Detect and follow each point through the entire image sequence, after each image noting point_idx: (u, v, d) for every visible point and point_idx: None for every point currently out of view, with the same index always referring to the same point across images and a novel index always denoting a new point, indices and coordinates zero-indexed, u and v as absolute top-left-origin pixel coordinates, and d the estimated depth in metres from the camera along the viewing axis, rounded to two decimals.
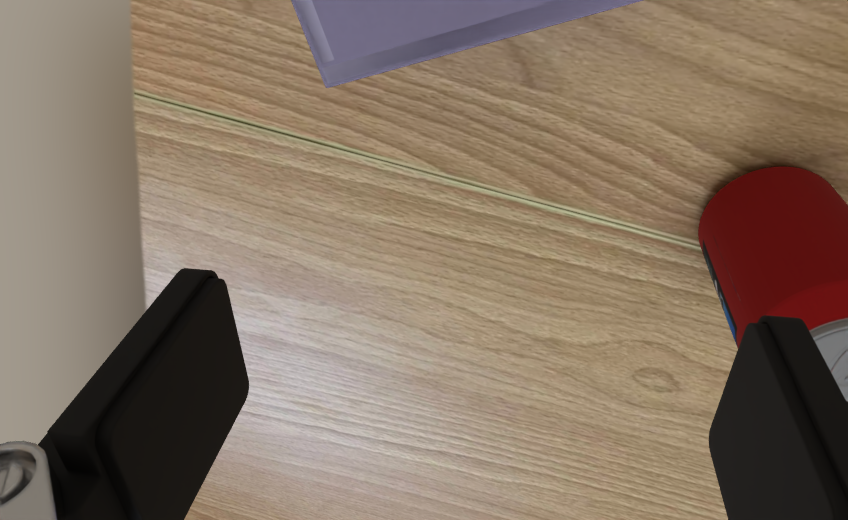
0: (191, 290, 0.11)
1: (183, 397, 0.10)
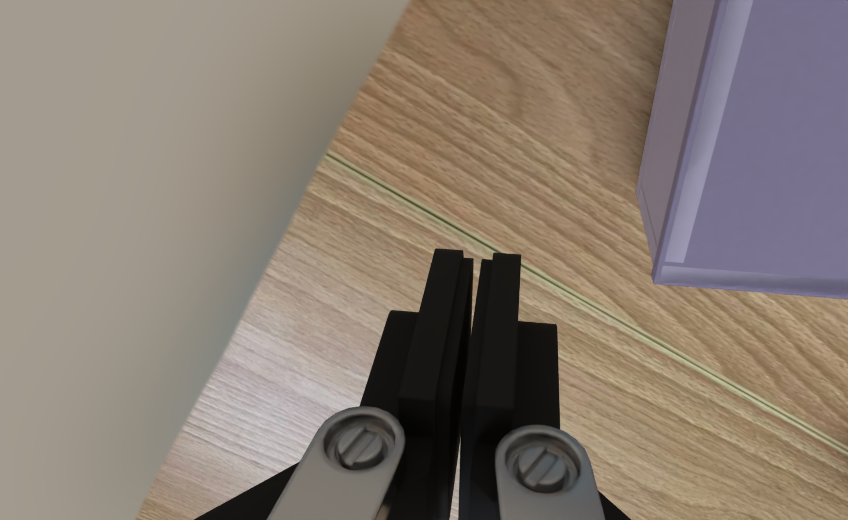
0: (456, 268, 0.11)
1: (461, 370, 0.11)
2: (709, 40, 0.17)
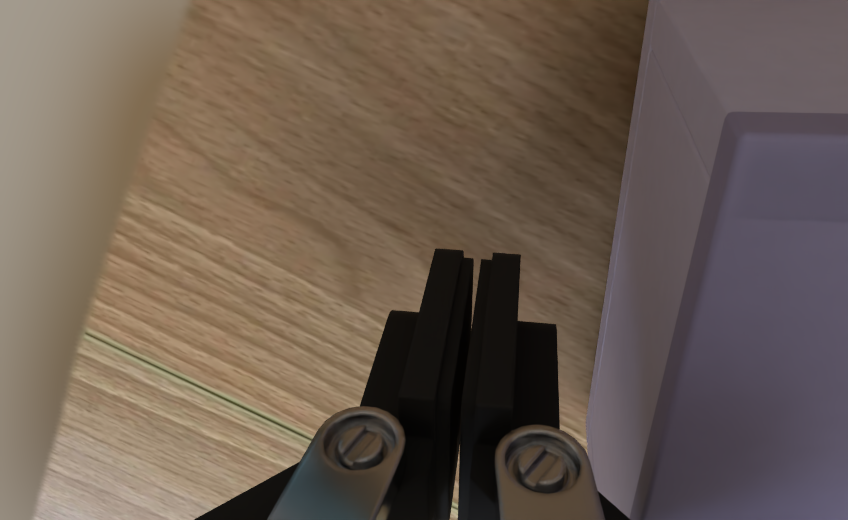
0: (456, 268, 0.11)
1: (461, 370, 0.11)
2: (676, 370, 0.07)
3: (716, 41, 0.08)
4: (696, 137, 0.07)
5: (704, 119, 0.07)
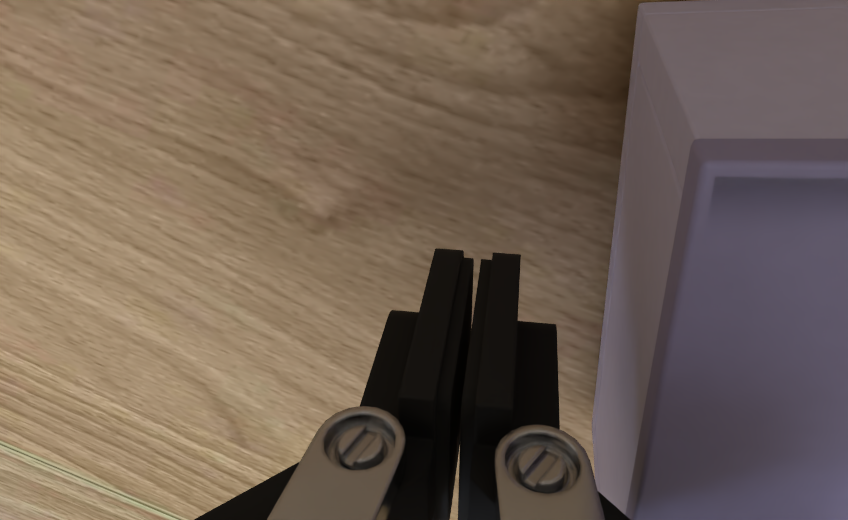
0: (456, 268, 0.11)
1: (461, 370, 0.11)
2: (658, 381, 0.08)
3: (693, 62, 0.08)
4: (673, 157, 0.08)
5: (678, 141, 0.07)
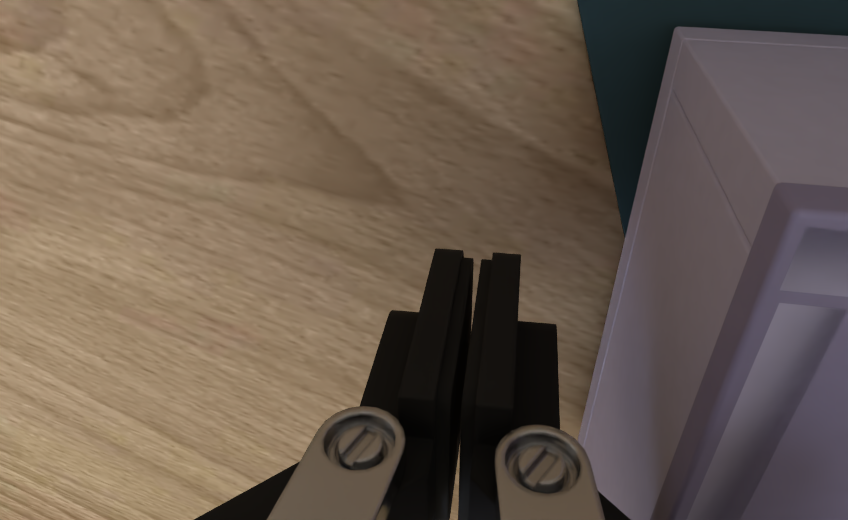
0: (456, 268, 0.11)
1: (461, 370, 0.11)
2: (702, 431, 0.07)
3: (750, 96, 0.08)
4: (731, 195, 0.07)
5: (742, 180, 0.07)
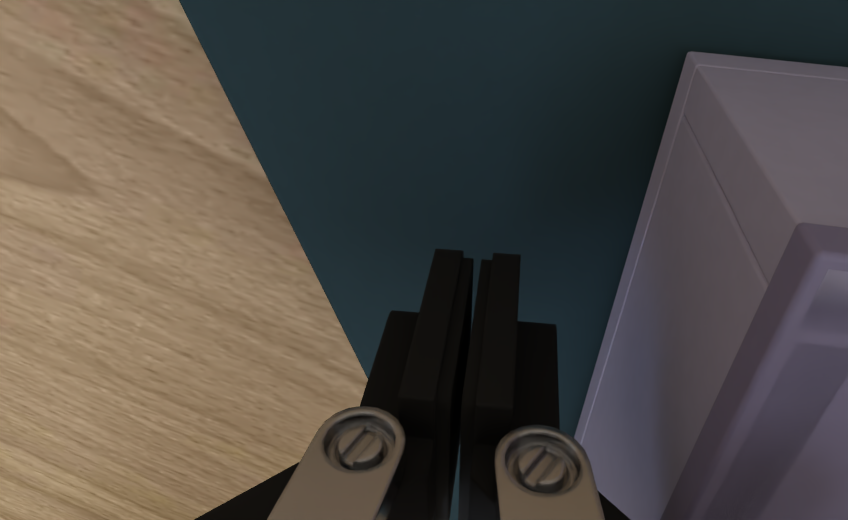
0: (456, 268, 0.11)
1: (461, 370, 0.11)
2: (710, 461, 0.07)
3: (766, 129, 0.08)
4: (746, 228, 0.07)
5: (759, 214, 0.07)
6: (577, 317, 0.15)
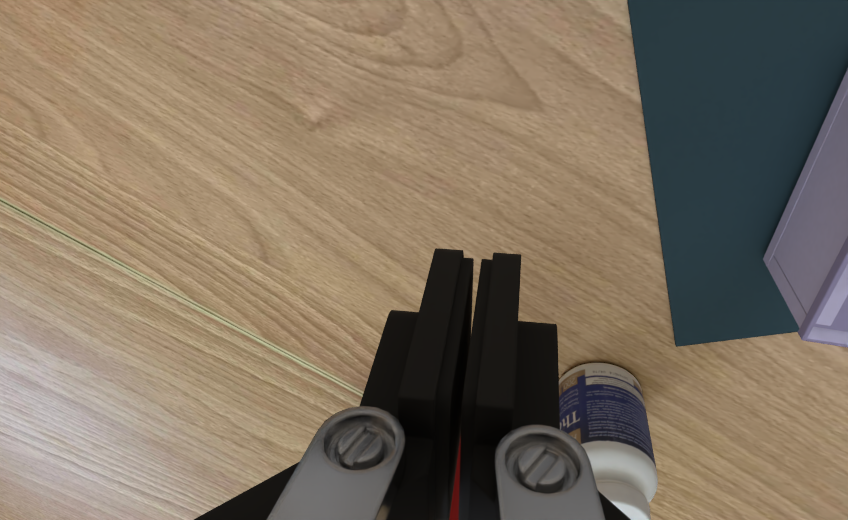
0: (456, 268, 0.11)
1: (461, 370, 0.11)
2: None
3: None
4: None
5: None
6: (781, 174, 0.31)
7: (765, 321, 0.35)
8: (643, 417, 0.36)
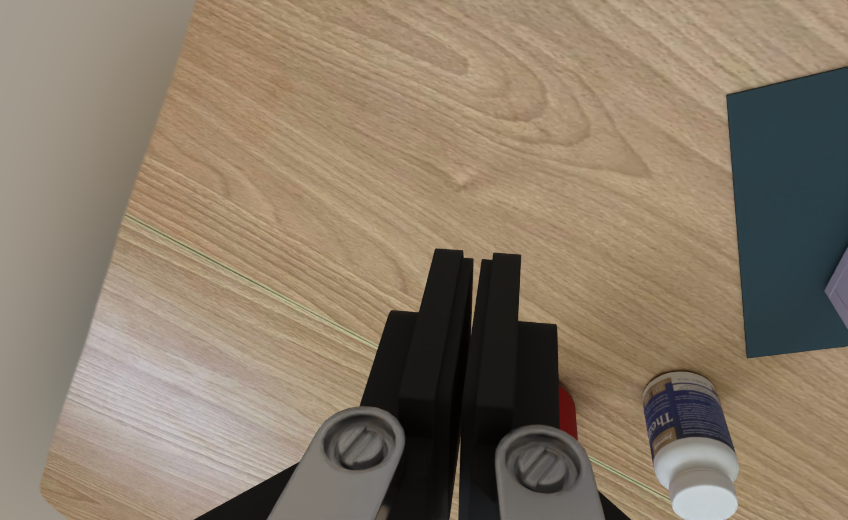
0: (456, 268, 0.11)
1: (461, 370, 0.11)
2: None
3: None
4: None
5: None
6: (842, 226, 0.39)
7: (823, 338, 0.44)
8: (722, 416, 0.45)
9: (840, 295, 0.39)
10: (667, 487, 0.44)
